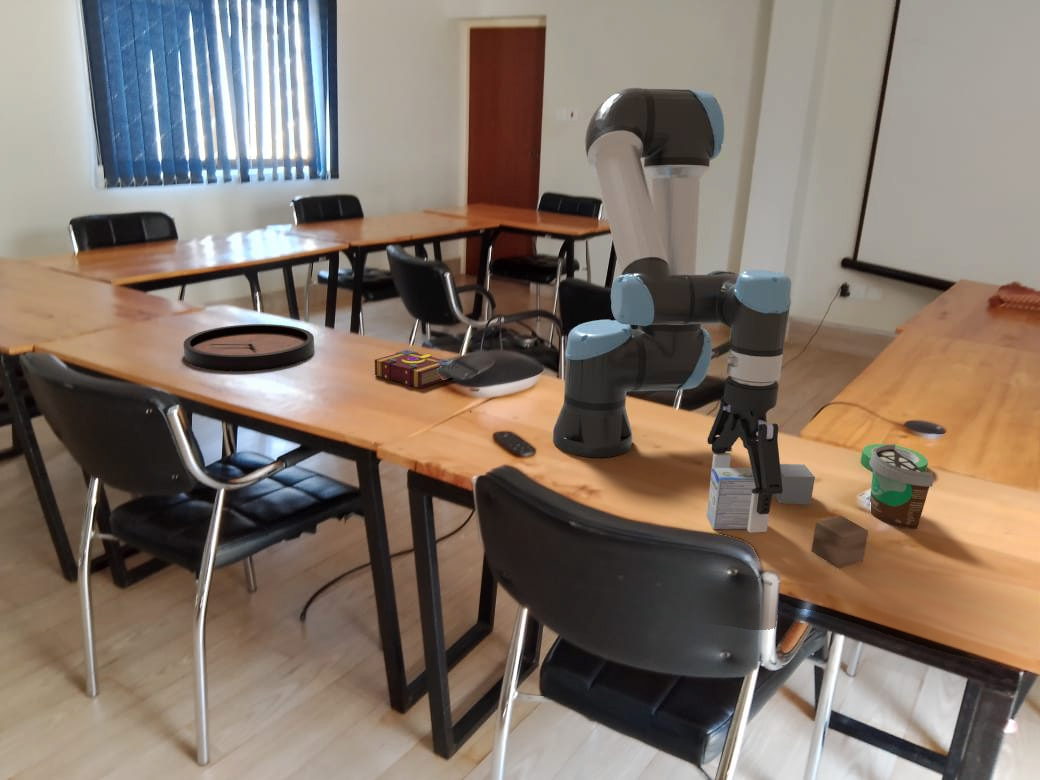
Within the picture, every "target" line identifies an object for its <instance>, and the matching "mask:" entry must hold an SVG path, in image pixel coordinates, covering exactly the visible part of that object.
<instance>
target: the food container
mask: <svg viewBox="0 0 1040 780" xmlns="http://www.w3.org/2000/svg"><path fill="white" fill-rule="evenodd" d="M895 445H896V444H895V443H894V444H893V443H891V444H890V445H883V446H880V447H878V448H877V449H876V451H875V452H874V453H873V455H872V457H871V459H870V462H869V464H870V466H871V468H872V469H873V472H872V475H871V487H870V497H869V503H870V502H871V513H870V514H871V515H872V516H873V517H874V518H876V519H877V520H879V521H881V522H883V523H885V524H889V525H891V526H895V527H898V528H902V529H903V528H904V529H910V530H911V529H913V530H914V529H915V530H917V529H918V527H919V524H920V521H921V517H922V514H923V512H924V511H923V510H924V507H925V503H926V500H927V496H928V492H929V490H930V488H932V487H933V486H934V485H933V484H934V477H933V476H934V473H933V472H927V471H926V472H922V471H921V470H920V469H919V468H918V467H917V466H916V465H915V464H914V463H913V462H912V461H911V460H909V459H907V458H905V457H903V456H901V455H900V454H899V453H897V452H896V451H895Z"/></svg>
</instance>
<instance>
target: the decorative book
mask: <svg viewBox="0 0 1040 780" xmlns="http://www.w3.org/2000/svg"><path fill="white" fill-rule="evenodd" d="M448 361H450V360H449V359H444V358H437V357H433V355H431V354H421V353H419V352H417V351H414V350H409V349H405V350H401V351H397V352H395V353H393V354H390V355H387V356H383V357H380V358H377V359H374V376H376V377H381V378H382V379H383V380H385V381H389V382H390V381H394V382H397V383H401V384H403V386H405V387H410V388H411V387H414V388H419V389H422V388H423V389H424V388H426V387H429V386H432V385H434V384H437V383H440V382H442V379H441V377H440V376H439V375H438V373H437V368H439V367H440V366H443V365H445V364H446V363H447V362H448Z"/></svg>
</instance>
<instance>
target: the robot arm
mask: <svg viewBox="0 0 1040 780" xmlns="http://www.w3.org/2000/svg"><path fill="white" fill-rule="evenodd" d="M724 119H725V118H724V115H723V110H722V107H721V104H720V103H719V101H718V100H717V98H716V97H715V95H713V94H711V93H710V92H708V91H699V90H693V89H691V88H689V89H674V88H672V89H670V88H669V89H668V88H641V87H630V88H624V89H621V90H619V91H616V92H614V93H613V94H611V95H610V96H608V97H607V98H605V100H604V101H602V103H600V105H598V107H597V108H596V110H595V111H594V113H593V114H592V117H591V119H590V120H589V123H588V126H587V129H586V133H585V140H584V141H585V142H584V143H585V152H586V158H587V161H588V164H589V166H590V168H591V169H592V171H595V172H596V174H597V175H596V176H597V178H598V183H599V187H600V191H601V196H602V200H603V204H604V208H605V209H604V210H605V213H606V217H607V221H608V225H609V229H610V234H611V238H612V243H613V247H614V251H615V256H616V259H617V263H618V264H617V265H618V269H619V271H620V275H618V276H616V278H614V280H613V283H612V286H611V290H610V292H611V293H610V301H611V305H610V306H611V307H610V309H611V312H612V315H613V317H614V320H611V319H599V320H597V319H596V320H591V321H587V322H583V323H580V324H578V325H577V326H575V327H573V328H572V329H571V330H569V331H570V332H569V333H568V336H567V341H566V342H567V343H566V349H565V352H564V353H565V373H564V377H565V378H564V396H563V404H562V406H561V410H560V412H559V414H558V417H557V419H556V422H555V425H554V427H553V431H552V432H553V436H552V441H553V442H552V443H553V445H555V446H556V448H558V449H559V450H561V451H563V452H565V453H568V454H572V455H575V456H580V457H587V458H609V457H616V456H619V455H622V454H625V453H627V452H628V451H630V450H631V448H632V445H633V444H632V443H633V442H632V441H633V432H632V428H631V423H630V419H629V416H628V413H627V408H626V402H627V401H626V399H627V393H628V392H646V391H671V392H678V391H680V390H691V389H694V388H697V387H698V386H699V385H701V383H703V381H704V379H706V376H707V374H708V373H709V372H708V371H709V369H710V365H711V362H712V354H713V353H712V350H713V349H712V343H711V339H712V338H711V335H710V333H709V332H708V331H707V329H705V328H703V327H702V326H701V325H725V326H726V327H728V328H730V329H731V330H730V339H729V350H728V356H727V357H726V363H727V368H726V373H727V375H728V376H727V377H726V378H725V382H724V391H723V395H722V396H721V399H720V405H719V409H718V411H717V414H716V417H715V419H714V421H713V424H712V425H711V429H710V431H709V434H708V436H707V439H706V440H707V441H706V442H707V444H708V445H711V451H712V453H713V455H712V463H711V469H712V468H731V462H732V461H731V460H732V454H731V453H730V452H733V448H732V447H733V446H734V444H735V443H736V441H737V440H738V439H740V440H741V441H742V446H743V448H744V449H745V450H747V453H748V458H749V462H750V463H749V464H750V468H752V473H753V478H754V482H755V487H756V488H755V489H753V490H752V496H751V504H750V512H749V520H748V527H747V529H746V530H747V532H749V533H763V532H764V533H765V532H767V530H768V524H769V523H768V522H769V518H770V517H769V516H770V512H771V511H770V510H771V503H772V498H773V497H772V496H773V495H774V494H781V493H782V491H783V488H782V479H781V469H780V464H781V462H780V452H779V442H778V441H779V440H778V437H779V425H778V423H768V422H767V421H768V420H767V413H768V412H769V411H770V410H772V409H774V408H776V406H777V403H778V402H777V401H778V394H779V386H780V384H779V383H778V380H779V379H781V373H782V364H783V357H784V347H785V341H786V335H787V327H788V320H789V314H790V308H791V304H792V301H791V293H792V291H791V290H792V281H791V278H790V277H789V276H788V275H787V274H785V273H782V272H776V271H773V270H765V269H764V270H762V269H748V270H743V271H742V272H740V273H738V274H737V273H735V272H734V271H725V270H714V271H711V272H709V273H707V274H696V265H697V247H698V244H697V243H698V227H699V206H700V204H699V203H700V188H701V187H700V184H701V178H702V177H703V176H704V175H705V174H706V172H708V171H709V170H710V165H711V164H710V162H711V161H712V160H714V159H716V158H717V157H718V156H719V155H720V153H721V151H722V144H724V140H725V139H724V138H725V122H724V121H725V120H724ZM641 158H644V159H643V161H644V162H643V163H644V164H642V161H641ZM644 171H645V172H646V173H647V174H648V175H649V176H650V178H651V194H650V190H649V186H648V183H647V179H646V175H645V172H644ZM633 325H634V326H637V328H636V329H634V328H632V327H631V326H633ZM711 474H712V470H711V471H710V475H711ZM710 482H711V479H710ZM710 482H709V483H710ZM708 491H710V488H709V490H708Z"/></svg>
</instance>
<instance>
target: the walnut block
mask: <svg viewBox="0 0 1040 780" xmlns="http://www.w3.org/2000/svg"><path fill="white" fill-rule="evenodd" d="M868 536H869V530H868V529H866V528H864V527H863V526H861V525H859V524H857V523H855V522H854V521H853V520H850V519H848V518H847V517H845V516H843V515H838V516H833V517H830V518H826V519H822V520H818V521H816V522H815V526H814V531H813V538H812V543H811V553H812V552H813V553H812V554H814V553H815V554H816V555H815V554H814V555H815V556H816V557H819V558H820V559H822V560H823V559H824V560H823V561H825V560H826V561H825V562H826V563H828V564H829V565H831V566H832V567H835V568H836V569H840V568H844V567H846V566H851V565H854V564H857V563H861V562H863V561H864V559H865V558H864V557H865V552H866V547H867V542H868Z"/></svg>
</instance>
